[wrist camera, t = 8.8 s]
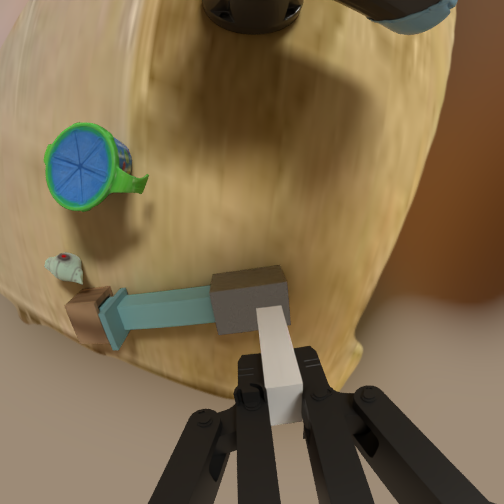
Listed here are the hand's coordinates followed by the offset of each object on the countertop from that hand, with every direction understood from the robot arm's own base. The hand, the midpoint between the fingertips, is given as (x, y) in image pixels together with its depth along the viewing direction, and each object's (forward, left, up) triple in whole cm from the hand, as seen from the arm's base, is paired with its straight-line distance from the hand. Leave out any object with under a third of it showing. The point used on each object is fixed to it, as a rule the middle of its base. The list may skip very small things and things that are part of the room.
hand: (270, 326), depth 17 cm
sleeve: (+9, -1, -24) cm, 26 cm away
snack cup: (-13, -19, -25) cm, 34 cm away
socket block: (+9, -27, -24) cm, 37 cm away
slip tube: (+9, -15, -24) cm, 30 cm away
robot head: (0, -29, -25) cm, 38 cm away
